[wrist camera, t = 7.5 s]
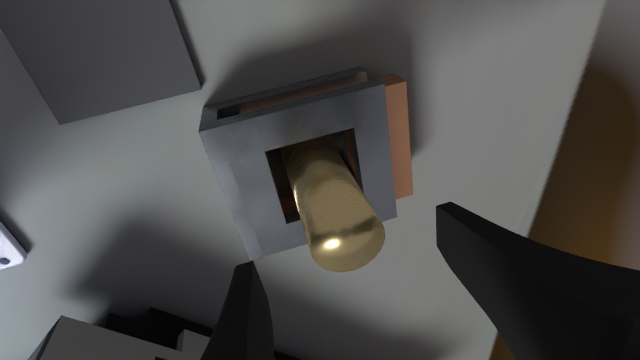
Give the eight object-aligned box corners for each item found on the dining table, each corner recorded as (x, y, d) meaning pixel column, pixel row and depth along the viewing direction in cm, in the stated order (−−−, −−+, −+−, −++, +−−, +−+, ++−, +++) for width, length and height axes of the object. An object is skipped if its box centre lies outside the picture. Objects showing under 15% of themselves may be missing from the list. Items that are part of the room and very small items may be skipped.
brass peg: (287, 175, 22) (319, 281, 15) (274, 132, 21) (302, 224, 13) (333, 162, 23) (388, 258, 15) (324, 118, 21) (380, 200, 13)
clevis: (246, 223, 23) (249, 260, 20) (203, 107, 19) (198, 132, 16) (396, 180, 24) (420, 209, 21) (386, 60, 20) (414, 76, 17)
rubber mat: (63, 121, 18) (59, 124, 18) (-35, -40, 14) (-41, -40, 14) (202, 87, 19) (201, 89, 18) (142, -76, 15) (140, -77, 15)
